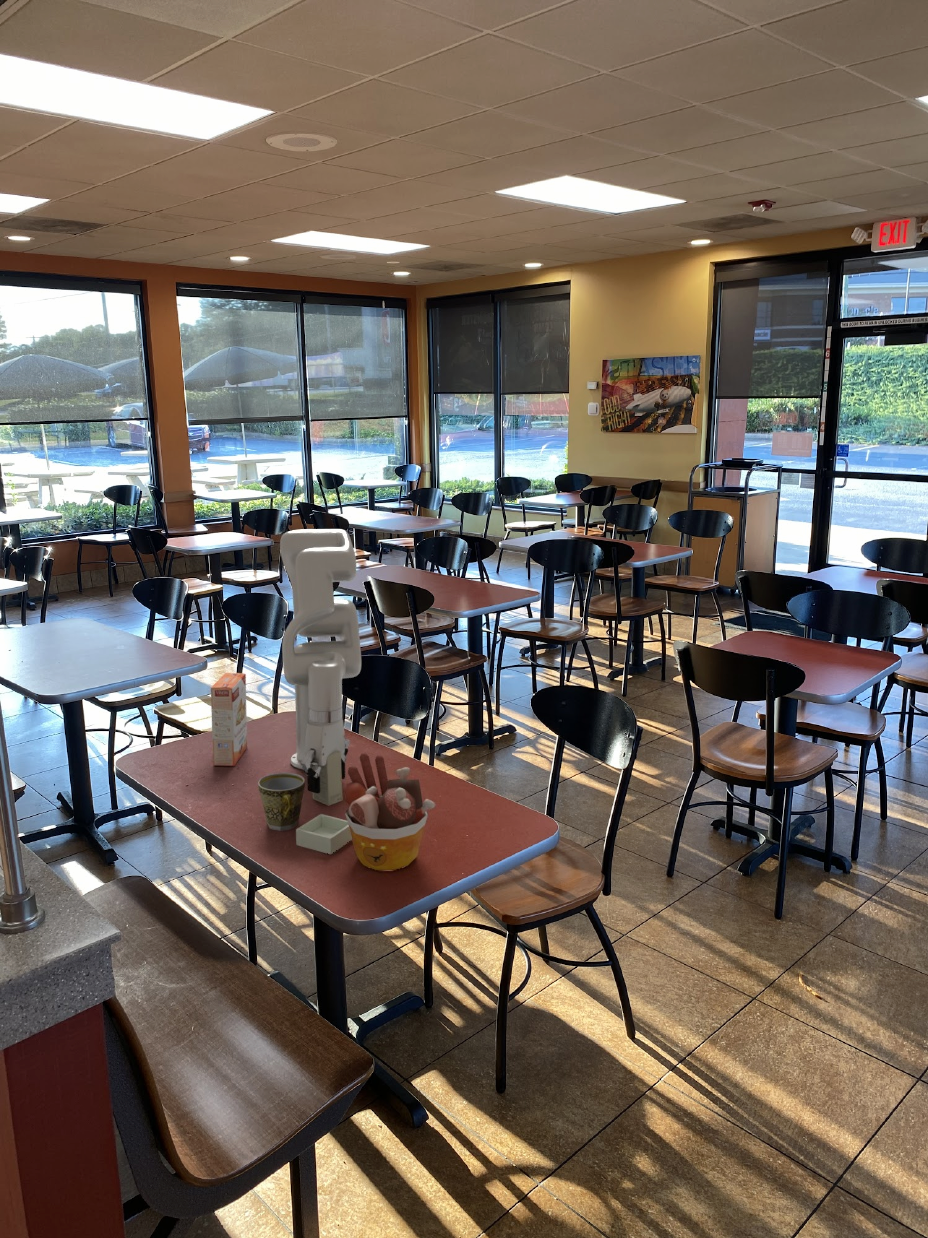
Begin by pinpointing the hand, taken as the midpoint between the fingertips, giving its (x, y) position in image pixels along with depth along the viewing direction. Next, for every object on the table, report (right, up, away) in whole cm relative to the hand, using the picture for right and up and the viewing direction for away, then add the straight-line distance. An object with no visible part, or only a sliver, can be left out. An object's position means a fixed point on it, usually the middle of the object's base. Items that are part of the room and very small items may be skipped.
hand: (326, 784), depth 214 cm
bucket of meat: (+16, -10, -27) cm, 33 cm away
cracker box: (-29, +2, +26) cm, 39 cm away
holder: (+3, -8, -20) cm, 22 cm away
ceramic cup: (-7, -7, -13) cm, 17 cm away
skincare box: (0, -4, +1) cm, 4 cm away
